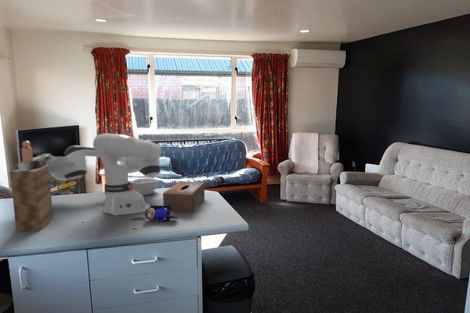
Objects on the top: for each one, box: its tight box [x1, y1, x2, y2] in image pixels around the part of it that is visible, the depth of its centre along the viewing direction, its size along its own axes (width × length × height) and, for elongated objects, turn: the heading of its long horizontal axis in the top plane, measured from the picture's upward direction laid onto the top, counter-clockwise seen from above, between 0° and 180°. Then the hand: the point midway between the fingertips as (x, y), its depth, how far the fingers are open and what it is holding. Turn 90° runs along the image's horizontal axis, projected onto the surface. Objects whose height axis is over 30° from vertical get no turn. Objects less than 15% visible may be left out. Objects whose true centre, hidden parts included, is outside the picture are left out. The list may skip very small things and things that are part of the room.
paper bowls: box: [130, 177, 158, 196], centre depth 207 cm, size 15×15×8 cm
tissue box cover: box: [162, 180, 206, 214], centre depth 184 cm, size 26×14×10 cm, turn 170°
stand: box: [9, 159, 54, 232], centre depth 153 cm, size 10×14×29 cm
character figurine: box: [143, 204, 178, 223], centre depth 161 cm, size 8×7×15 cm
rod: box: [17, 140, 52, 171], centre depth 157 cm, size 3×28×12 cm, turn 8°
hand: (44, 156), depth 168 cm, fingers open, 3 cm apart
